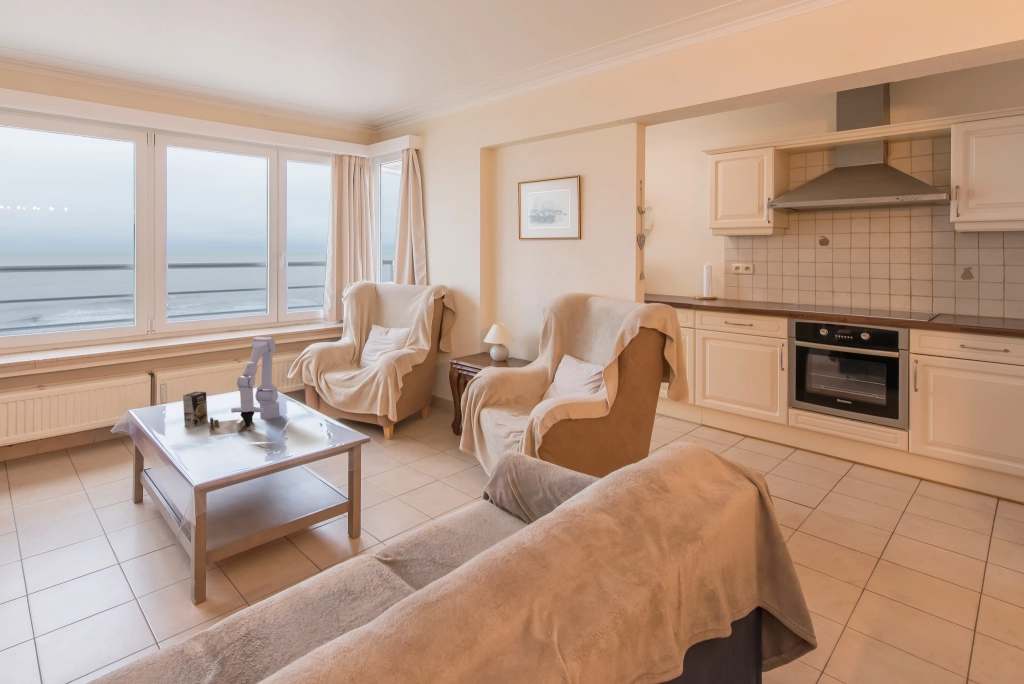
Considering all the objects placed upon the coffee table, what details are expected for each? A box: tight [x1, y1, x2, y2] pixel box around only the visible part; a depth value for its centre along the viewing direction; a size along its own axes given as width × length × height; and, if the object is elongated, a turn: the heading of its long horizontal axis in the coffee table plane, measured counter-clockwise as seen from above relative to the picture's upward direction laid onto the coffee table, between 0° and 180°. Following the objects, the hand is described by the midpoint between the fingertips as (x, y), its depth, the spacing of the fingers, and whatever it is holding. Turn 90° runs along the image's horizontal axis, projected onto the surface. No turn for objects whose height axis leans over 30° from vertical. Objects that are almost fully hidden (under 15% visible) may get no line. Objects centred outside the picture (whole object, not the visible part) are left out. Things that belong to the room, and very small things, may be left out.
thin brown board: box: [207, 417, 257, 437], centre depth 280 cm, size 20×22×6 cm
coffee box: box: [182, 391, 209, 428], centre depth 283 cm, size 9×6×16 cm
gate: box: [236, 416, 245, 431], centre depth 280 cm, size 15×2×4 cm, turn 11°
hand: (248, 426), depth 277 cm, fingers closed
